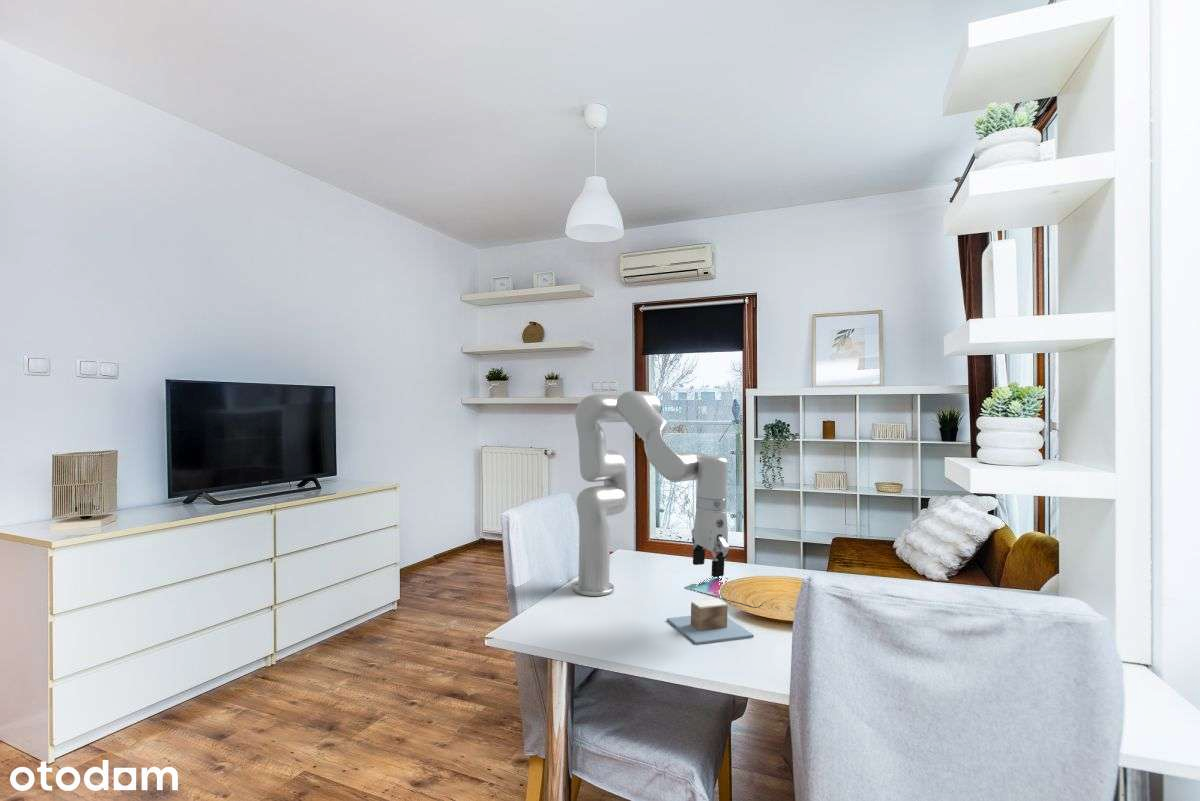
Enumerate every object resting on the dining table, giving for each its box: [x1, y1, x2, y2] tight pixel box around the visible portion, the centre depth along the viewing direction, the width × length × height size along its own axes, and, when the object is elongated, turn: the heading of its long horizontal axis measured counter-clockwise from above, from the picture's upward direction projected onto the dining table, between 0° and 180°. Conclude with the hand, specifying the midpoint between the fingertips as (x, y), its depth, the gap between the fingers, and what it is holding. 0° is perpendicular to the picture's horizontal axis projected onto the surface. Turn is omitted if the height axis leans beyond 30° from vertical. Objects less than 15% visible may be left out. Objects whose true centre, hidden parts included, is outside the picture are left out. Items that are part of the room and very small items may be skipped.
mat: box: [666, 615, 755, 646], centre depth 148 cm, size 16×16×1 cm
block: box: [690, 598, 729, 631], centre depth 148 cm, size 8×4×6 cm, turn 109°
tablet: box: [683, 576, 729, 599], centre depth 179 cm, size 19×25×1 cm
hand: (707, 570), depth 149 cm, fingers open, 9 cm apart
